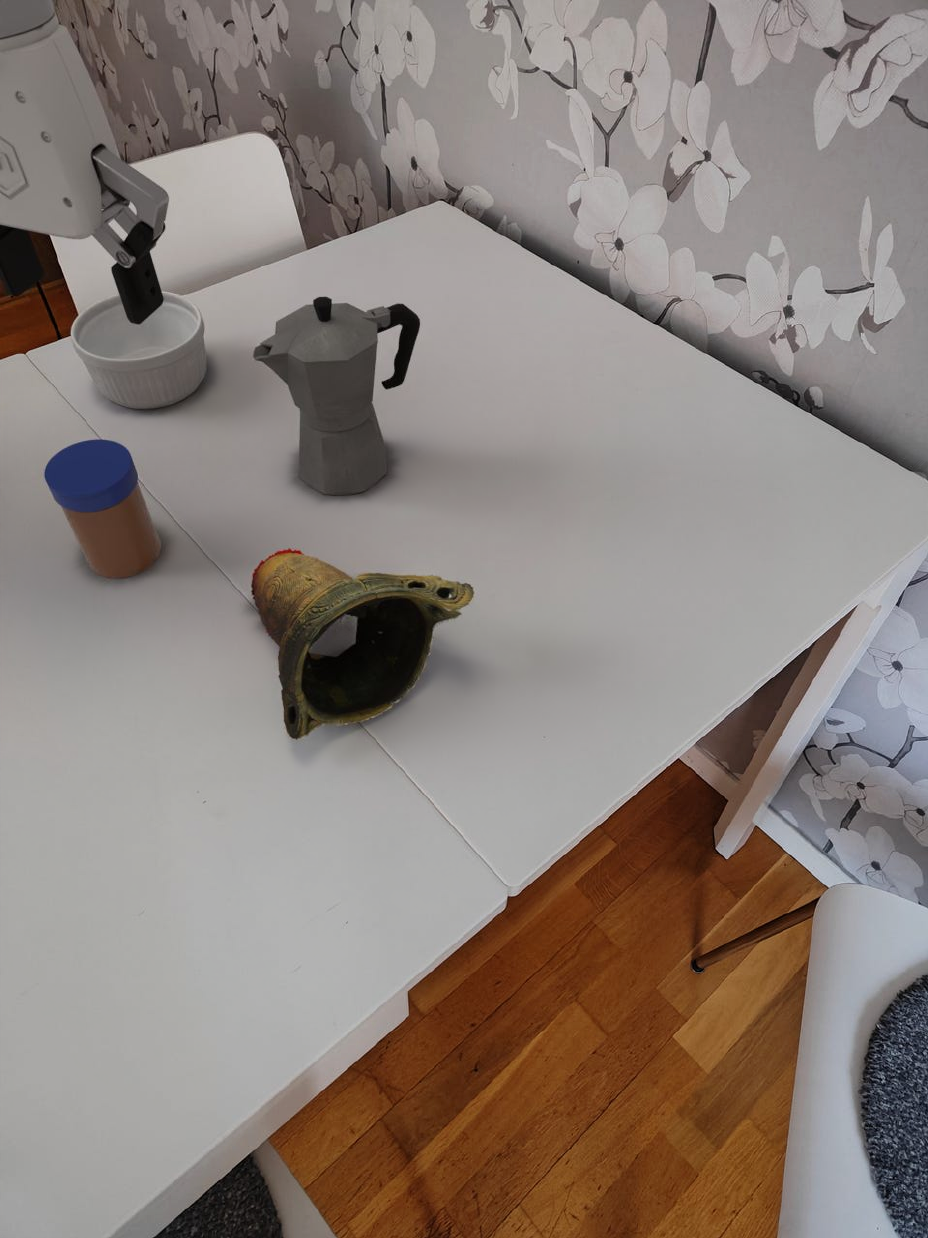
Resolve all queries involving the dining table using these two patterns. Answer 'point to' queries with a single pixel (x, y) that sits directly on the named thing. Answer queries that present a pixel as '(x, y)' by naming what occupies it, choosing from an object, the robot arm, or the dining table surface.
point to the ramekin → (142, 351)
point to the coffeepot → (338, 387)
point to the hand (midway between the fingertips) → (86, 299)
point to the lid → (91, 475)
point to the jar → (117, 537)
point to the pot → (385, 635)
